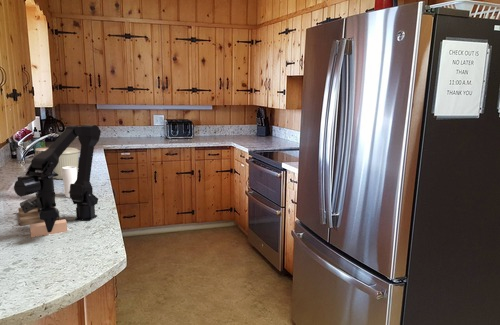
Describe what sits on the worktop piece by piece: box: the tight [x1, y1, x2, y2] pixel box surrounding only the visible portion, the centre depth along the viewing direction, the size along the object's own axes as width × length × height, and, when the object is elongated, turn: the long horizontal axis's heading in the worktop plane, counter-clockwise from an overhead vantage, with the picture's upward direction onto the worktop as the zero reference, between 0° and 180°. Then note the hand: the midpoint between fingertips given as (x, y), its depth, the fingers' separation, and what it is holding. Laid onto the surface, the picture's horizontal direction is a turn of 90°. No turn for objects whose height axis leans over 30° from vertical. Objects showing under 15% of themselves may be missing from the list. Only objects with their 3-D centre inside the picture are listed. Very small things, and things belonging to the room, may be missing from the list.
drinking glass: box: [62, 166, 78, 199], centre depth 194 cm, size 7×7×15 cm
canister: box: [53, 147, 81, 180], centre depth 234 cm, size 18×18×21 cm
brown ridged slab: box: [17, 207, 61, 227], centre depth 163 cm, size 14×18×2 cm
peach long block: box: [29, 219, 68, 238], centre depth 145 cm, size 12×4×4 cm, turn 122°
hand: (48, 230), depth 145 cm, fingers open, 5 cm apart
